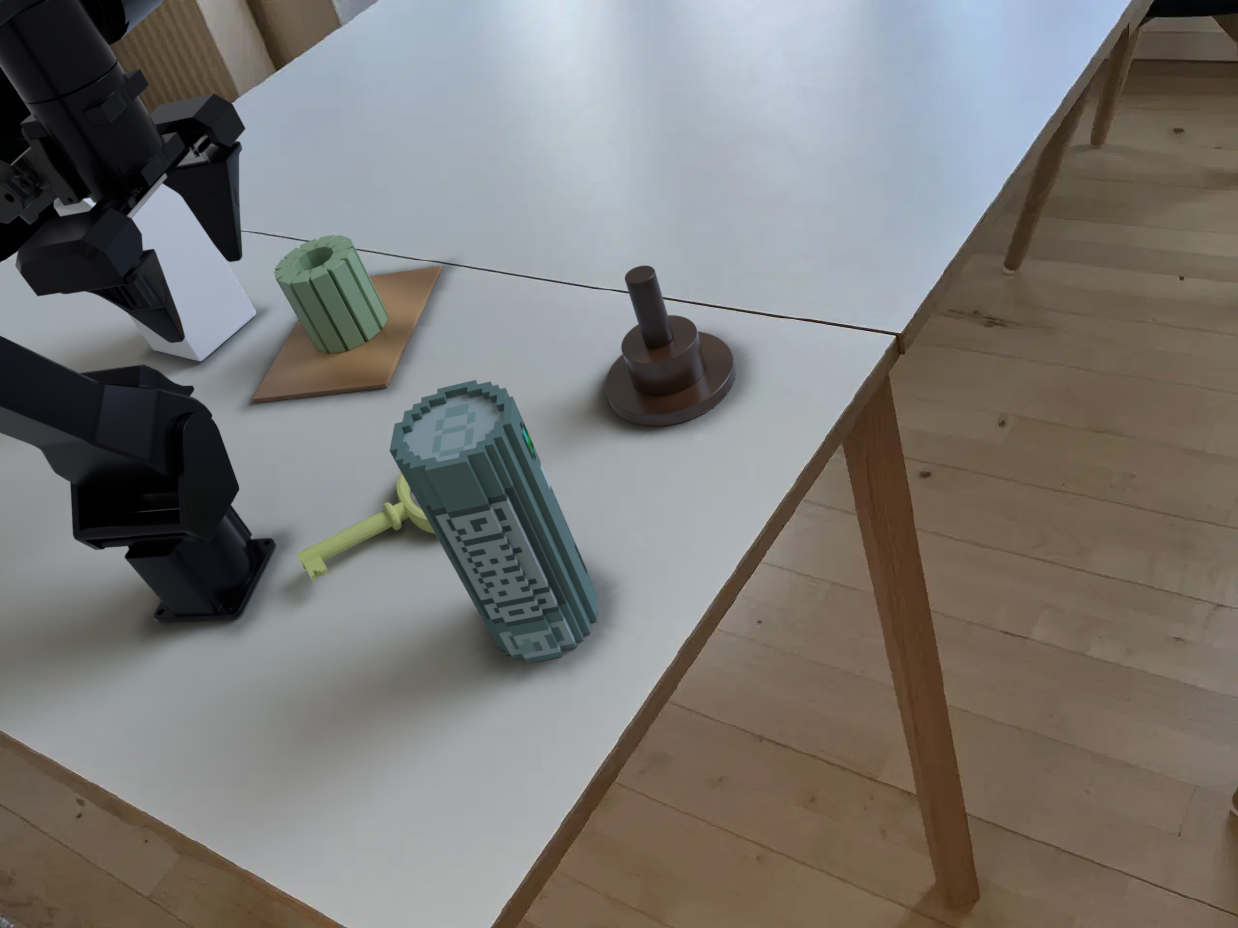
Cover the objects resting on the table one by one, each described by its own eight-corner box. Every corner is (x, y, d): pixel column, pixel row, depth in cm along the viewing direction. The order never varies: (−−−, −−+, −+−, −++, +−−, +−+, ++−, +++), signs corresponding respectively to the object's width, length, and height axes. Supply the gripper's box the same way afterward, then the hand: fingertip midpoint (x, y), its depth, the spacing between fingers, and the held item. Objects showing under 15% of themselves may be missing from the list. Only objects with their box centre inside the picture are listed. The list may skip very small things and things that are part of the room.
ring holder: (730, 419, 69) (702, 307, 63) (598, 432, 72) (559, 325, 66) (740, 334, 75) (715, 225, 70) (619, 348, 78) (584, 244, 72)
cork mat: (387, 387, 82) (384, 383, 82) (253, 403, 86) (251, 399, 85) (442, 269, 93) (440, 265, 93) (322, 286, 97) (320, 283, 97)
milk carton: (258, 314, 96) (142, 120, 84) (201, 364, 92) (71, 168, 80) (210, 305, 100) (92, 118, 88) (154, 352, 96) (22, 163, 84)
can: (596, 567, 63) (514, 370, 53) (597, 649, 58) (508, 451, 48) (498, 586, 64) (399, 397, 54) (492, 669, 59) (383, 479, 49)
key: (299, 580, 69) (284, 558, 67) (435, 459, 74) (423, 437, 73) (365, 624, 64) (350, 602, 63) (504, 492, 70) (493, 469, 68)
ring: (403, 313, 89) (368, 241, 84) (345, 360, 86) (306, 289, 81) (354, 298, 93) (319, 230, 88) (298, 343, 90) (258, 275, 85)
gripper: (44, 39, 71) (170, 239, 81) (-139, 185, 58) (39, 401, 68) (185, 4, 67) (297, 217, 78) (25, 151, 54) (186, 383, 65)
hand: (208, 298), depth 72 cm, fingers open, 9 cm apart
